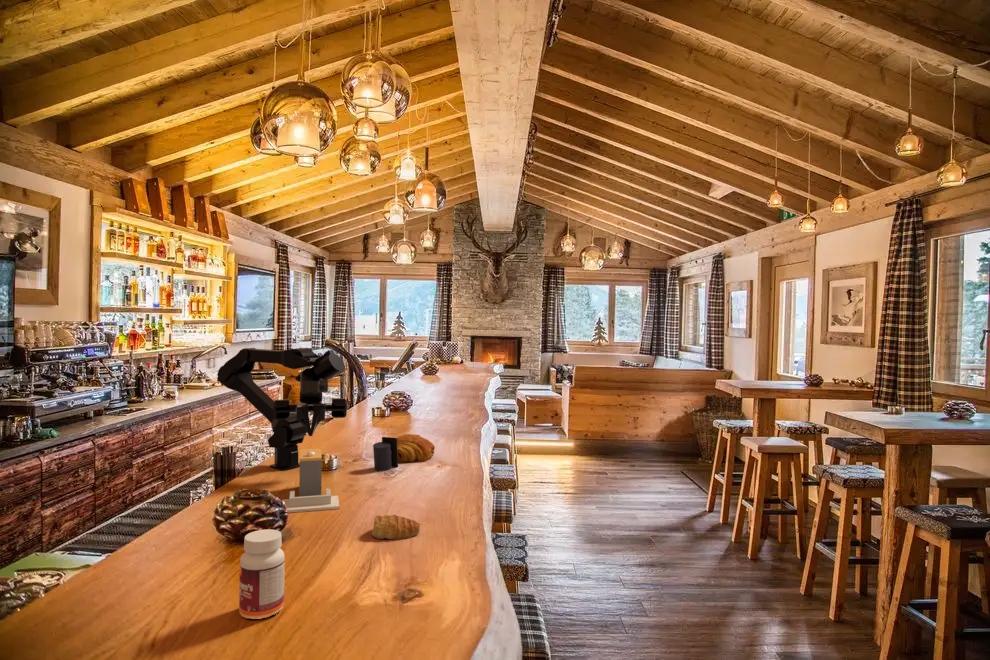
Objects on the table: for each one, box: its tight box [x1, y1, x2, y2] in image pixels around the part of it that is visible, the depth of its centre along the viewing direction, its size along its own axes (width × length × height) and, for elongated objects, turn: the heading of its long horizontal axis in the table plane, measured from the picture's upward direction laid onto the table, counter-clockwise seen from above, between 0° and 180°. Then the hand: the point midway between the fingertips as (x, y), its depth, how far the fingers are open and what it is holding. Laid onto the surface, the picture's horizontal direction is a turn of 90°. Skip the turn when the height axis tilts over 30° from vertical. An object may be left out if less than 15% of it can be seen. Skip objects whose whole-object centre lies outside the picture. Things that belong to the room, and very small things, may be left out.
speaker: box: [372, 436, 399, 472], centre depth 169 cm, size 6×5×9 cm
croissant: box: [396, 433, 436, 463], centre depth 183 cm, size 14×16×8 cm
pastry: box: [371, 514, 421, 540], centre depth 119 cm, size 9×7×4 cm
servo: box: [298, 447, 323, 497], centre depth 145 cm, size 10×5×10 cm, turn 17°
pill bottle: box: [238, 528, 286, 618], centre depth 87 cm, size 6×6×11 cm
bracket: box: [282, 487, 340, 514], centre depth 135 cm, size 8×13×2 cm, turn 107°
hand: (310, 435), depth 153 cm, fingers closed
